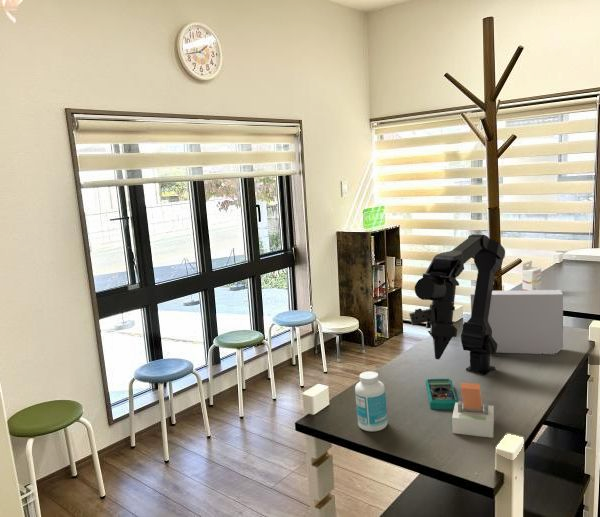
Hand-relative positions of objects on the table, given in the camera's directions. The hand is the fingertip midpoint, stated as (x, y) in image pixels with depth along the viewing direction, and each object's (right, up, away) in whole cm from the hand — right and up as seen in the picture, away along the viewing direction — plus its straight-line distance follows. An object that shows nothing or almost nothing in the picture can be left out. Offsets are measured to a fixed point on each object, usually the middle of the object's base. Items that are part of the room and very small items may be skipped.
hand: (437, 359), depth 135 cm
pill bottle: (-18, -15, -8) cm, 25 cm away
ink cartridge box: (+69, +11, +94) cm, 117 cm away
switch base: (+5, -14, -13) cm, 20 cm away
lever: (+5, -9, -14) cm, 17 cm away
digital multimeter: (+2, -12, +4) cm, 12 cm away
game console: (+35, -4, +31) cm, 47 cm away
